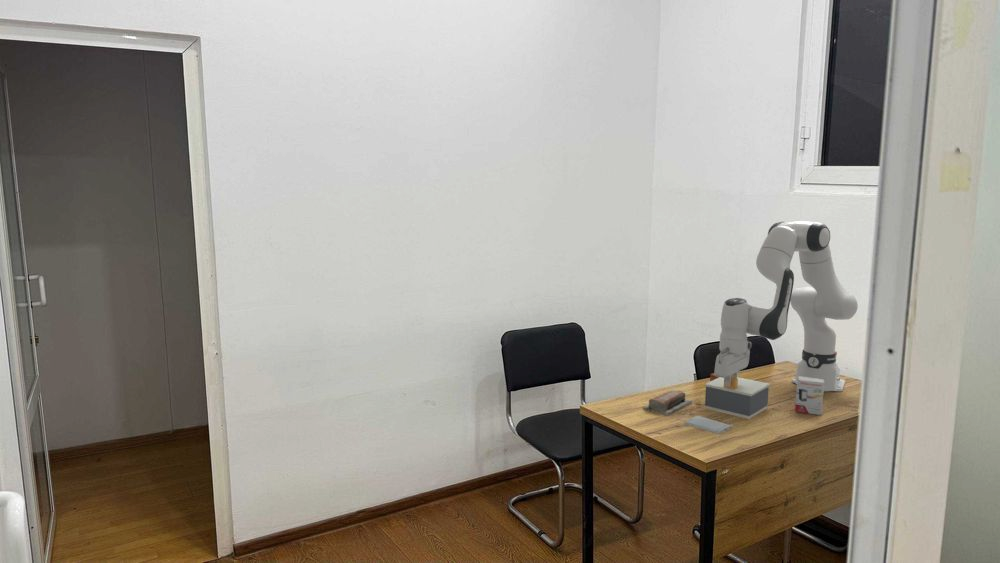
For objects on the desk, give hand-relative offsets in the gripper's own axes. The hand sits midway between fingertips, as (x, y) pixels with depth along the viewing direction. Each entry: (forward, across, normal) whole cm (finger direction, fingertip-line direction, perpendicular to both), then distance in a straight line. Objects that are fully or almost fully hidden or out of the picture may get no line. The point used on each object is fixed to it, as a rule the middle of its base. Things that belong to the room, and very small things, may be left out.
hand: (730, 384), depth 234 cm
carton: (+10, +28, +12) cm, 32 cm away
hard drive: (+11, -18, -1) cm, 21 cm away
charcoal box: (+10, +6, 0) cm, 12 cm away
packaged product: (+11, -9, +18) cm, 23 cm away
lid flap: (+2, +6, 0) cm, 6 cm away
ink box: (+10, +20, -20) cm, 30 cm away
